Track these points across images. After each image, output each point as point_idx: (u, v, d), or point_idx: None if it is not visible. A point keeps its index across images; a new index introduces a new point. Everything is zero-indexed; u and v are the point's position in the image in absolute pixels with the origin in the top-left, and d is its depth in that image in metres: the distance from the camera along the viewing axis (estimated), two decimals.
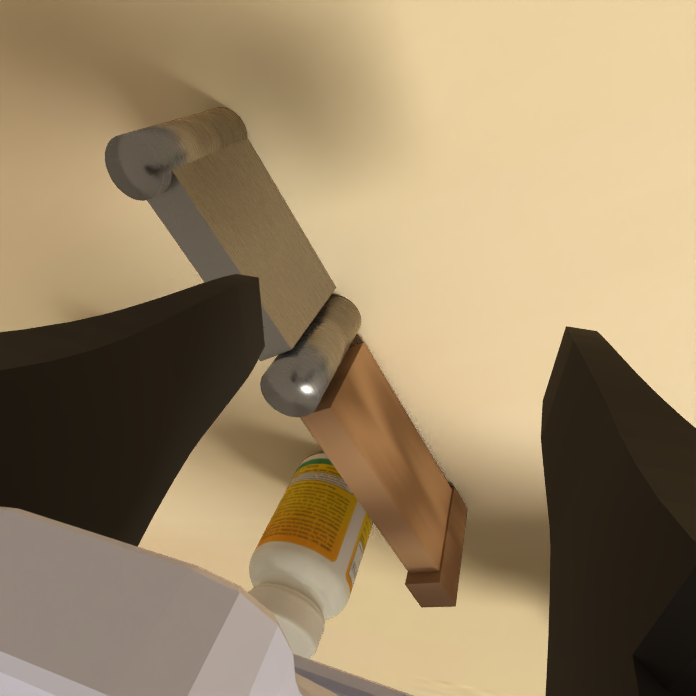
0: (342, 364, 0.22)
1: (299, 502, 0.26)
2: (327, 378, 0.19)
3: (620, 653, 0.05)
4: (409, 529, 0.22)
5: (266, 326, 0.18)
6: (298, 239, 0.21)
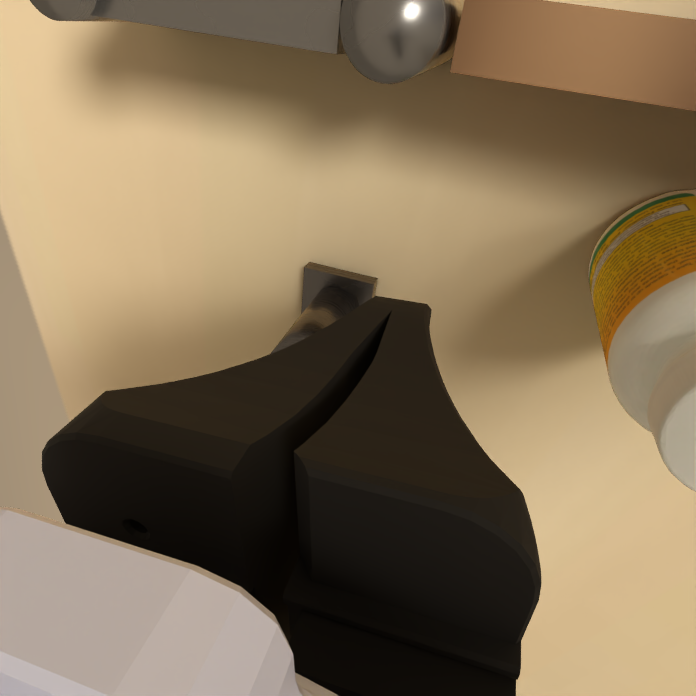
0: None
1: (614, 277, 0.15)
2: None
3: None
4: None
5: None
6: None
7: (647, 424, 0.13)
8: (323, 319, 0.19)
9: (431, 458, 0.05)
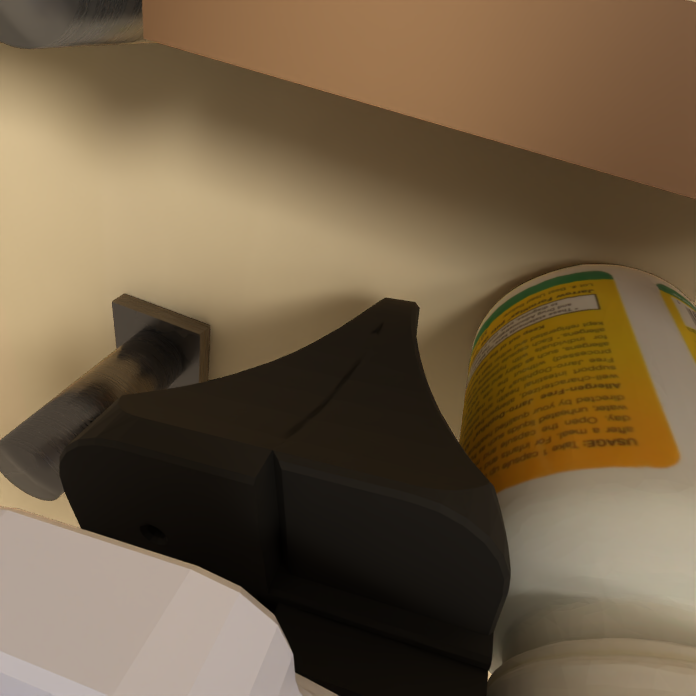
0: None
1: (478, 407, 0.09)
2: None
3: None
4: None
5: None
6: None
7: None
8: (107, 385, 0.14)
9: (405, 453, 0.05)
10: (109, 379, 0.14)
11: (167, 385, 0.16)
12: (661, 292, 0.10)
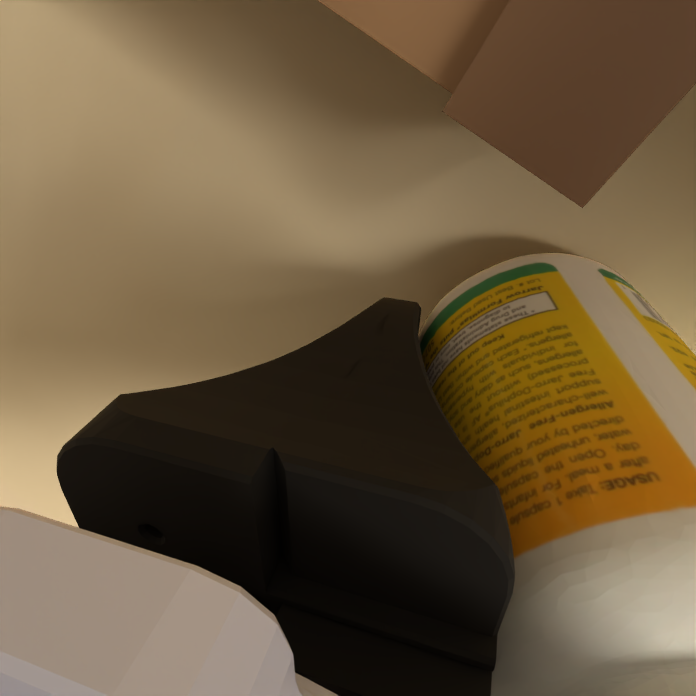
0: None
1: None
2: None
3: None
4: None
5: None
6: None
7: None
8: None
9: (408, 453, 0.05)
10: None
11: None
12: (605, 279, 0.09)
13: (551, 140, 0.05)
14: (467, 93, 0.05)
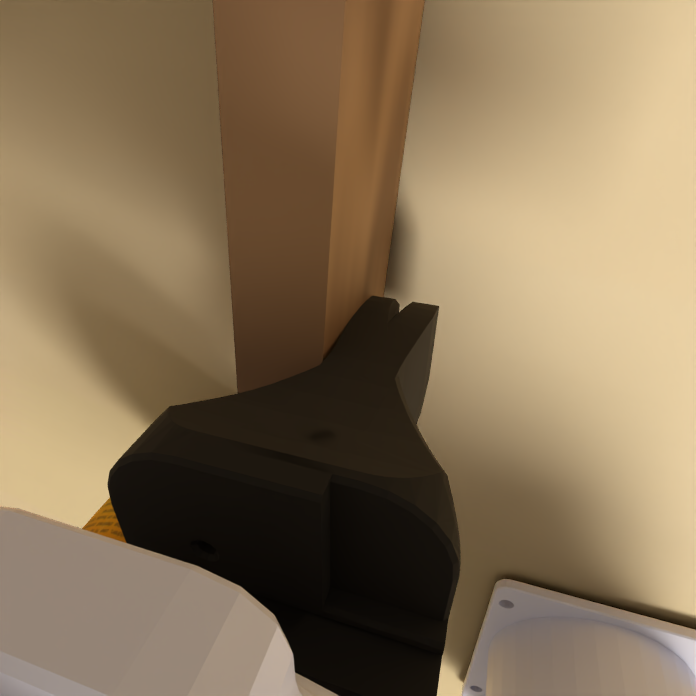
0: None
1: None
2: None
3: None
4: None
5: None
6: None
7: None
8: None
9: (363, 444, 0.05)
10: None
11: None
12: None
13: None
14: None
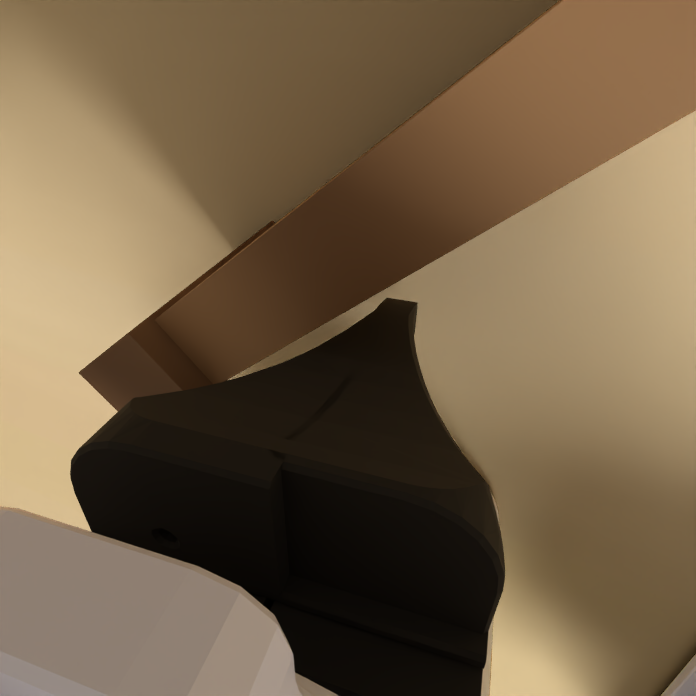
0: None
1: None
2: None
3: None
4: (329, 314, 0.07)
5: None
6: None
7: None
8: None
9: (400, 451, 0.05)
10: None
11: None
12: None
13: (110, 372, 0.09)
14: (135, 347, 0.08)
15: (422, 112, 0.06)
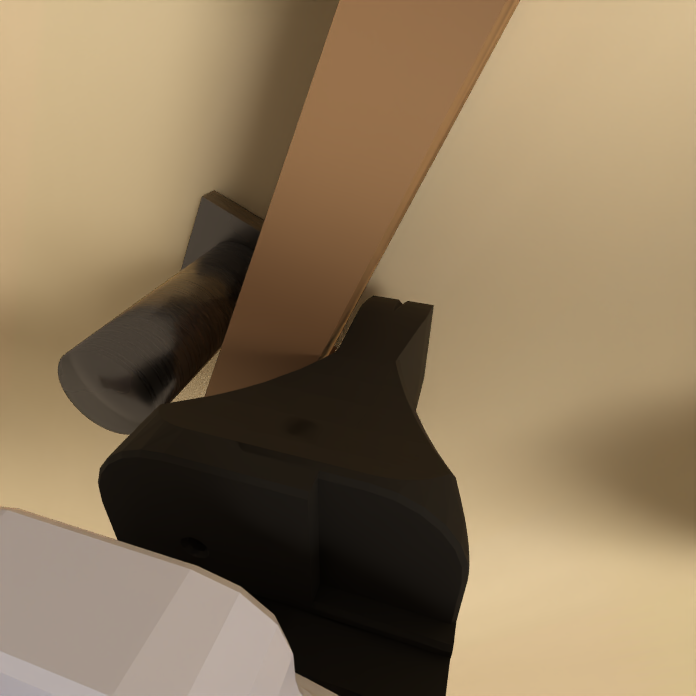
0: None
1: None
2: None
3: None
4: None
5: None
6: None
7: None
8: (205, 299, 0.11)
9: (370, 446, 0.05)
10: (206, 293, 0.11)
11: None
12: None
13: None
14: None
15: (272, 203, 0.07)
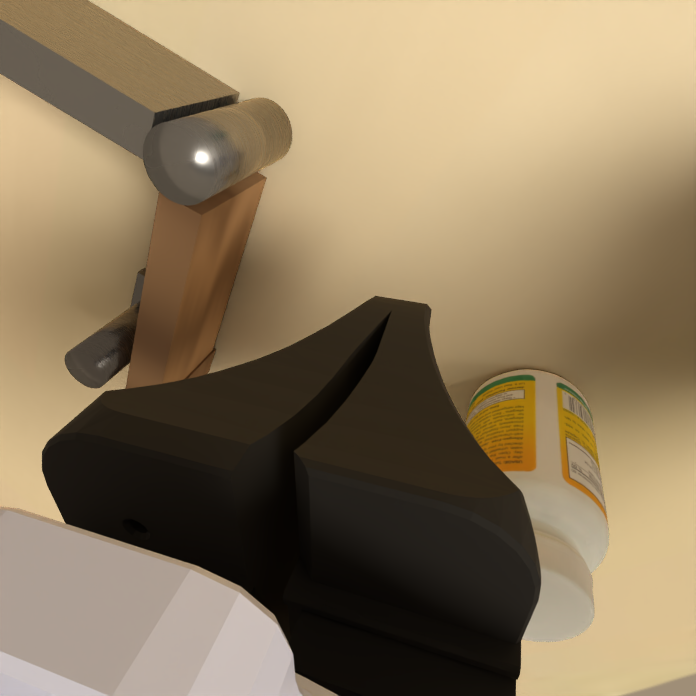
0: None
1: None
2: (219, 132, 0.15)
3: None
4: (164, 363, 0.20)
5: (117, 103, 0.15)
6: (166, 55, 0.18)
7: None
8: (134, 326, 0.23)
9: (430, 459, 0.05)
10: (135, 323, 0.23)
11: None
12: (557, 388, 0.20)
13: None
14: None
15: (142, 296, 0.19)
